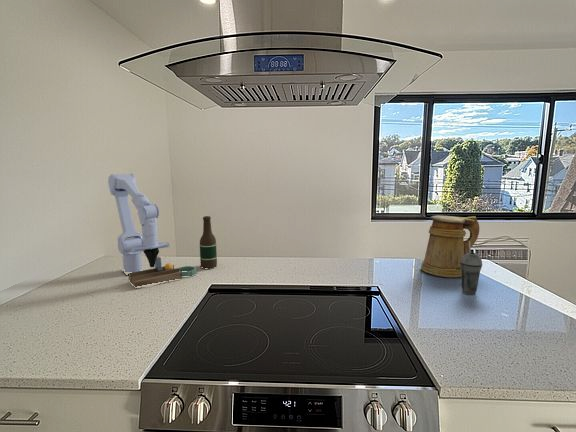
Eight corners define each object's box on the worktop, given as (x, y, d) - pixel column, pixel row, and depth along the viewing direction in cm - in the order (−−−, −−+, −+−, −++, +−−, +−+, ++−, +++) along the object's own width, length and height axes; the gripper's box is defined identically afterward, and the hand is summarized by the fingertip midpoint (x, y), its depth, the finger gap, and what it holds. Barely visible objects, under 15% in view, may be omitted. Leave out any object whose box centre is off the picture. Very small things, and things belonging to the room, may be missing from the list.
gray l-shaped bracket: (155, 271, 147) (154, 256, 146) (160, 270, 148) (159, 255, 147) (158, 274, 144) (157, 258, 143) (163, 273, 145) (162, 258, 144)
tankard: (414, 265, 165) (417, 213, 161) (464, 265, 165) (468, 212, 161) (430, 278, 147) (434, 220, 143) (486, 278, 147) (491, 219, 143)
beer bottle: (197, 268, 162) (194, 217, 158) (205, 263, 169) (203, 214, 165) (212, 270, 160) (210, 218, 156) (220, 265, 167) (218, 215, 163)
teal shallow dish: (173, 274, 154) (173, 268, 154) (191, 270, 159) (191, 265, 159) (180, 279, 148) (180, 273, 148) (199, 275, 153) (198, 269, 153)
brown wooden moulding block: (129, 282, 144) (128, 272, 143) (172, 273, 155) (171, 263, 154) (135, 289, 136) (134, 278, 136) (180, 279, 147) (180, 269, 146)
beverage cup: (482, 297, 126) (487, 243, 123) (460, 296, 128) (465, 243, 125) (476, 290, 133) (480, 239, 130) (455, 289, 135) (459, 238, 132)
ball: (172, 267, 151) (165, 271, 150) (169, 260, 150) (162, 265, 148) (175, 269, 149) (168, 274, 147) (172, 262, 147) (164, 267, 146)
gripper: (133, 238, 134) (136, 272, 137) (171, 233, 143) (173, 265, 145) (129, 235, 140) (131, 268, 142) (165, 230, 149) (167, 261, 151)
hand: (152, 266), depth 144 cm, fingers closed
